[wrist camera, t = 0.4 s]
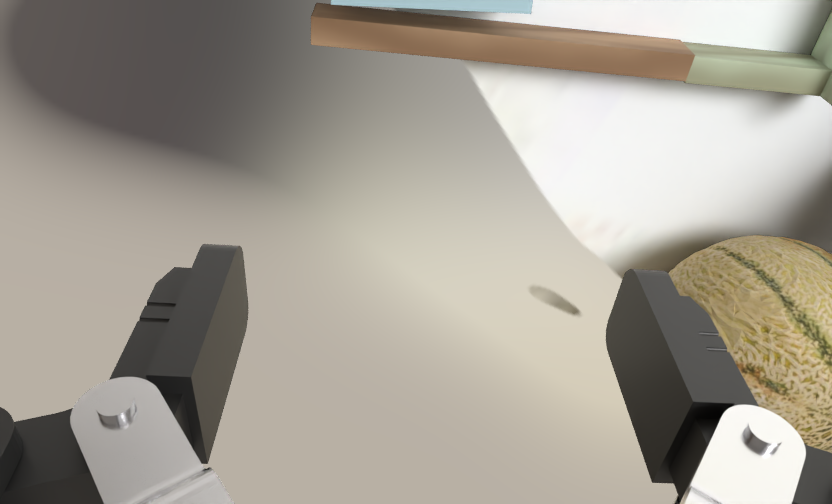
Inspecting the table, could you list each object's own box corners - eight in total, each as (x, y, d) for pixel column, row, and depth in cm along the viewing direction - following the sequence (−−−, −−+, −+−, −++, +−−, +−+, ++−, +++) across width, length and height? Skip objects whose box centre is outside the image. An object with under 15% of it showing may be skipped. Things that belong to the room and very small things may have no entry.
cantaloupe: (577, 290, 49) (632, 460, 37) (742, 154, 42) (876, 308, 30) (698, 373, 55) (780, 543, 43) (862, 264, 48) (1015, 431, 36)
